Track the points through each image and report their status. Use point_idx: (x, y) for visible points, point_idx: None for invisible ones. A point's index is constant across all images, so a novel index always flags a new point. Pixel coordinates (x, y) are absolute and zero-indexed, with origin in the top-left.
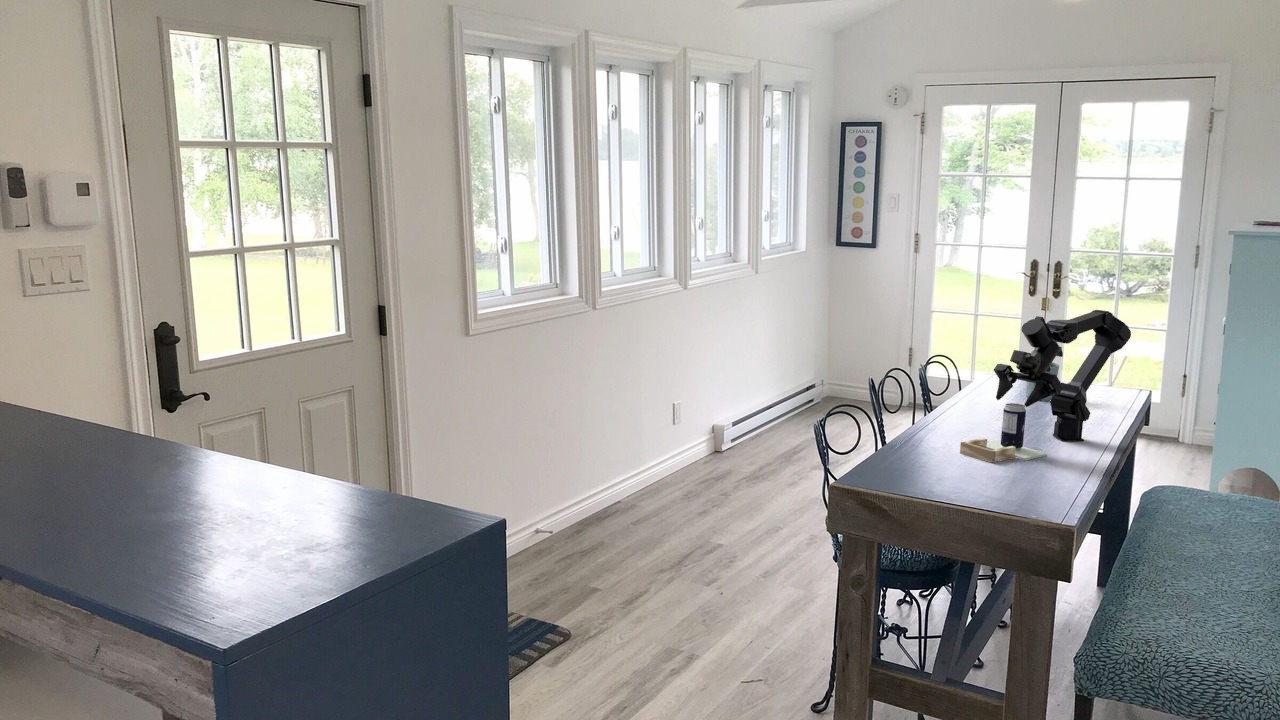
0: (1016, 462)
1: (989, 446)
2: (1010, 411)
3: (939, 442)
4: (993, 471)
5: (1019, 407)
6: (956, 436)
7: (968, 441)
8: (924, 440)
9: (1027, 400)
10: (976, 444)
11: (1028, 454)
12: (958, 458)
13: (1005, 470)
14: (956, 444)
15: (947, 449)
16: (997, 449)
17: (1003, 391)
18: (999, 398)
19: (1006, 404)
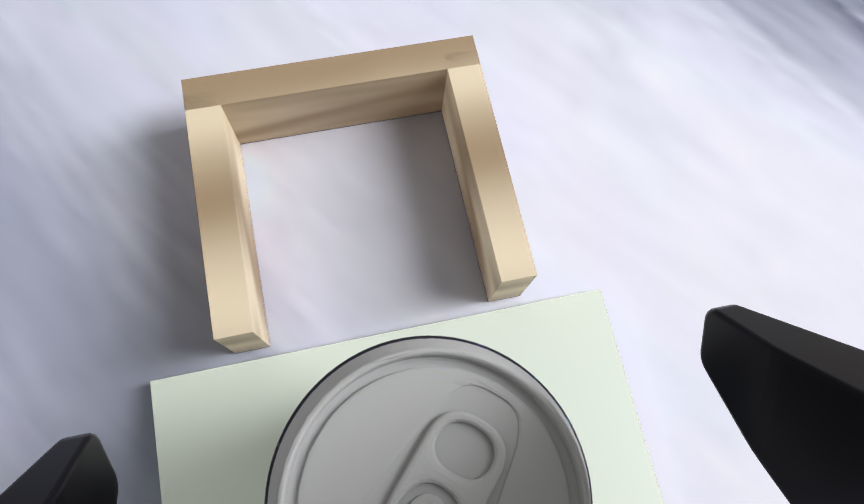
0: (144, 287)
1: (504, 335)
2: (361, 353)
3: (720, 115)
4: (58, 18)
5: (283, 467)
6: (853, 324)
7: (474, 97)
8: (780, 58)
9: (26, 495)
10: (468, 176)
11: (217, 485)
12: (364, 3)
13: (38, 95)
14: (654, 188)
15: (558, 62)
16: (214, 151)
17: (854, 499)
18: (719, 376)
19: (556, 423)
